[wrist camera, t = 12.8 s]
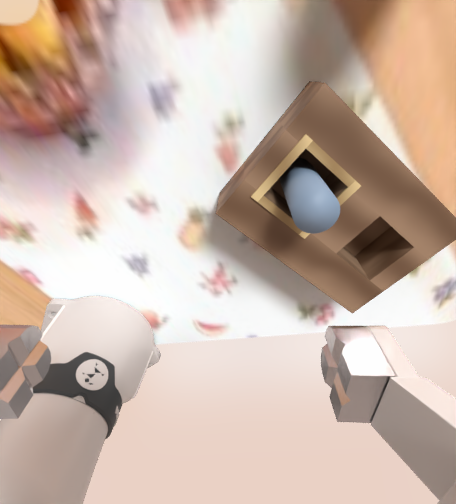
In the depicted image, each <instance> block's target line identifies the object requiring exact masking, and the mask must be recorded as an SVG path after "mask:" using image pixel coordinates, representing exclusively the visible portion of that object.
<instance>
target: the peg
mask: <svg viewBox="0 0 456 504" xmlns="http://www.w3.org/2000/svg"><path fill="white" fill-rule="evenodd" d="M279 180H280V183H281V186H282V189H283V192H284V194H285V197H286V200H287V203H288V206H289V209H290V212H291V215H292V218H293V221H294V223H295V225H296V226H297V227H298V228H299V229H300V230H302V231H303V232H306V233H311V234H315V233H321V232H324V231H326V230H328V229H329V228H331V227H332V226H333V225H334V224H335V223H336V221H337V219H338V217H339V215H340V204H339V201H338V200H337V198H336V197H335V195H334V194H333V193H332V191H331V190H330V189H329V187H328V186H327V185H326V183H325V182H324V181H323V180H322V178H321V177H320V176H319V174H318V173H317V172H316V170H315V169H314V168H313V166H312V165H311V164H310V162H309V161H307V160H306V159H303V158H297V159H296V160H295V161H294V162H293V163H292V164H291V165H290V167H289V168H288V169H287V170H286V171H285V172H284V173H283V174H282V175H281V177H280V178H279Z"/></svg>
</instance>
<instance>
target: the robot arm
mask: <svg viewBox="0 0 456 504" xmlns="http://www.w3.org/2000/svg"><path fill="white" fill-rule="evenodd" d="M325 338H326V341H327V344H326V345H325V346H324V347H323V348H322V353H321V367H322V373H323V377H324V380H325V382H326V383H327V384H328V385H329V386H330V387H331V388H332V390H331V394H330V400H331V403H332V406H333V409H334V413H335V415H336V419H337V421H338V422H362V423H371V425H372V427H373V428H374V429H375V430H376V431H377V432H378V433H379V434H380V435H381V437H382V438H383V439H384V440H385V441H386V442H387V443H388V444H389V445H390V446H391V447H392V449H393V450H394V451H395V452H396V453H397V454H398V455H399V456H400V457H401V459H402V460H403V461H404V462H405V463H406V464H407V465H408V466H409V467H410V468H411V470H412V471H413V472H414V473H415V474H416V475H417V476H418V477H419V478H420V480H421V481H422V482H423V483H424V484H425V485H426V486H427V487H428V488H429V489H430V491H431V492H432V493H433V494H434V495H435V496H436V497H437V498H438V499H439V500H440V501H439V502H438V504H456V398H455V397H453V396H452V395H451V394H449V393H448V392H446V391H445V390H443V389H442V388H440V387H439V386H438V385H436V384H435V383H433V382H432V381H430V380H429V379H428V378H426V377H419V376H418V374H417V373H416V371H415V369H414V368H413V366H412V365H411V363H410V362H409V360H408V358H407V357H406V355H405V354H404V352H403V351H402V349H401V348H400V346H399V344H398V343H397V341H396V340H395V338H394V336H393V335H392V333H391V332H390V330H389V329H388V328H387V327H386V326H328V328H327V330H326V334H325ZM160 356H161V354H160V352H159V350H158V348H157V347H156V345H155V343H154V335H153V330H152V328H151V326H150V324H149V322H148V321H147V319H146V318H145V317H144V316H143V315H142V314H141V313H140V312H139V311H137V310H136V309H135V308H133V307H132V306H130V305H128V304H126V303H124V302H122V301H119V300H116V299H113V298H109V297H103V296H87V297H82V298H78V299H73V300H68V299H52V300H50V302H49V303H48V305H47V307H46V311H45V316H44V320H43V324H42V329H41V331H40V329H39V327H37V326H30V325H0V419H1V421H0V504H83V501H84V498H85V495H86V492H87V489H88V486H89V483H90V480H91V477H92V474H93V471H94V469H95V465H96V463H97V460H98V457H99V454H100V452H101V449H102V446H103V443H104V441H105V439H106V438H108V437H109V436H110V434H111V432H112V429H113V427H114V426H115V424H116V422H117V419H118V416H119V412H120V409H121V406H122V404H123V403H125V402H127V401H129V400H130V399H131V398H134V397H135V396H136V394H137V392H138V389H139V387H140V384H141V382H142V379H143V377H144V374H145V372H146V369H147V368H149V367H150V366H152V365H154V364H155V363H157V362H158V361H159V359H160Z"/></svg>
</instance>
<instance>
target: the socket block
mask: <svg viewBox="0 0 456 504" xmlns="http://www.w3.org/2000/svg"><path fill="white" fill-rule="evenodd" d="M297 158H303V159H306V160H307V161H309V162H310V164H311V165H312V166H313V168H314V169H315V170H316V172H317V173H318V174H319V176H320V177H321V178H322V180H323V181H324V182H325V183H326V185H327V186H328V187H329V189H330V190H331V191H332V193H333V194H334V195H335V197H336V198H337V200H338V201H339V204H340V215H339V217H338V219H337V221H336V223H335V224H334V225H333V226H332V227H331V228H329V229H328V230H326V231H324V232H321V233H315V234H311V233H306V232H303V231H302V230H300V229H299V228H298V227H297V226H296V225H295V223H294V221H293V218H292V215H291V212H290V209H289V206H288V203H287V200H286V197H285V194H284V192H283V189H282V186H281V183H280V180H279V178H280V177H281V175H282V174H283V173H284V172H285V171H286V170H287V169H288V168H289V167H290V165H291V164H292V163H293V162H294V161H295V160H296V159H297ZM216 214H217V215H218V216H220V217H221V218H222V219H224V220H225V221H227V222H228V223H229V224H231V225H232V226H233V227H235V228H236V229H237V230H239V231H240V232H242V233H243V234H244V235H246V236H247V237H248V238H250V239H251V240H253V241H254V242H255V243H257V244H258V245H259V246H261V247H262V248H263V249H265V250H266V251H268V252H269V253H270V254H272V255H273V256H274V257H276V258H277V259H279V260H280V261H281V262H283V263H284V264H285V265H287V266H288V267H289V268H291V269H292V270H294V271H295V272H296V273H298V274H299V275H300V276H302V277H303V278H305V279H306V280H307V281H309V282H310V283H311V284H313V285H314V286H315V287H317V288H318V289H320V290H321V291H322V292H324V293H325V294H326V295H328V296H329V297H331V298H332V299H333V300H335V301H336V302H337V303H339V304H340V305H341V306H343V307H344V308H346V309H347V310H348V311H350V312H351V313H354V312H355V311H356V310H358V309H359V308H361V307H362V306H363V305H365V304H366V303H368V302H369V301H370V300H372V299H373V298H375V297H376V296H377V295H379V294H380V293H382V292H383V291H384V290H386V289H387V288H389V287H390V286H391V285H393V284H394V283H396V282H397V281H398V280H400V279H401V278H403V277H404V276H405V275H407V274H408V273H410V272H411V271H413V270H414V269H415V268H417V267H418V266H420V265H421V264H422V263H424V262H425V261H427V260H428V259H429V258H431V257H432V256H434V255H435V254H436V253H438V252H439V251H441V250H442V249H443V248H445V247H446V246H448V245H449V244H450V243H452V242H453V241H455V240H456V217H455V216H454V215H453V214H452V213H451V212H450V211H449V210H448V209H447V208H446V207H445V206H444V205H443V204H442V203H441V202H440V201H439V200H438V199H437V198H436V197H435V196H434V195H433V194H432V193H431V192H430V191H429V190H428V189H427V188H426V186H425V185H424V184H423V183H422V182H421V181H420V180H419V179H418V178H417V177H416V176H415V175H414V174H413V173H412V172H411V171H410V170H409V169H408V168H407V167H406V166H405V165H404V164H403V163H402V162H401V161H400V160H399V159H398V158H397V156H396V155H395V154H394V153H393V152H392V151H391V150H390V149H389V148H388V147H387V146H386V145H385V144H384V143H383V142H382V141H381V140H380V139H379V138H378V137H377V136H376V135H375V134H374V133H373V132H372V131H371V130H370V129H369V128H368V127H367V125H366V124H365V123H364V122H363V121H362V120H361V119H360V118H359V117H358V116H357V115H356V114H355V113H354V112H353V111H352V110H351V109H350V108H349V107H348V106H347V105H346V104H345V103H344V102H343V101H342V100H341V99H340V98H339V97H338V96H337V94H336V93H335V92H334V91H333V90H332V89H331V88H330V87H329V86H328V85H327V84H326V83H322V82H312V81H310V82H309V83H308V84H307V85H306V87H305V88H304V89H303V90H302V92H301V93H300V94H299V95H298V97H297V98H296V99H295V100H294V102H293V103H292V104H291V105H290V106H289V108H288V109H287V110H286V111H285V113H284V114H283V115H282V116H281V118H280V119H279V120H278V121H277V123H276V124H275V125H274V126H273V127H272V129H271V130H270V131H269V132H268V134H267V135H266V136H265V137H264V139H263V140H262V141H261V142H260V144H259V145H258V146H257V147H256V148H255V150H254V151H253V152H252V153H251V155H250V156H249V157H248V158H247V160H246V161H245V162H244V163H243V165H242V166H241V167H240V168H239V169H238V171H237V172H236V173H235V174H234V176H233V177H232V178H231V179H230V181H229V182H228V183H227V184H226V186H225V187H224V188H223V189H222V191H221V192H220V195H219V200H218V205H217V210H216Z"/></svg>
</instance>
